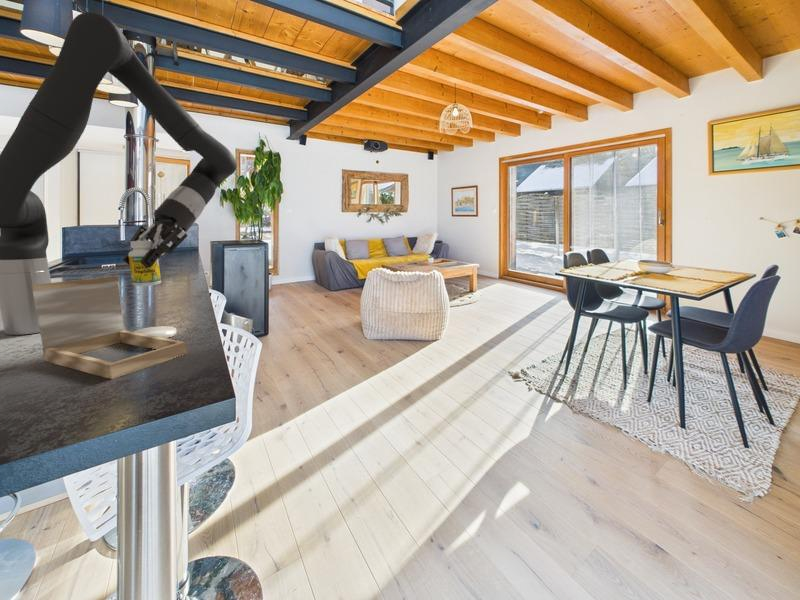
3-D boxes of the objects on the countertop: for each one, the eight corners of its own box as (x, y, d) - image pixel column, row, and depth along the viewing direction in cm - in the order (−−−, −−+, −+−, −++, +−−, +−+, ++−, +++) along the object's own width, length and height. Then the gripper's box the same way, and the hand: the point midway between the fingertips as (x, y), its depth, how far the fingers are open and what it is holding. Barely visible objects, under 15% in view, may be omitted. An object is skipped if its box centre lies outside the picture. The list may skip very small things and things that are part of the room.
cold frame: (44, 361, 70) (31, 285, 67) (123, 340, 83) (114, 276, 80) (112, 379, 62) (100, 295, 60) (187, 353, 75) (180, 283, 72)
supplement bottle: (161, 281, 87) (156, 240, 85) (161, 285, 82) (156, 241, 80) (133, 283, 84) (127, 240, 82) (131, 287, 79) (125, 241, 77)
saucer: (121, 339, 84) (120, 334, 83) (159, 329, 92) (159, 324, 91) (148, 344, 80) (147, 339, 80) (185, 333, 88) (185, 329, 88)
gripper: (148, 197, 88) (100, 251, 80) (191, 197, 83) (143, 254, 75) (172, 220, 94) (129, 272, 86) (213, 221, 89) (171, 277, 81)
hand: (136, 264), depth 80 cm, fingers closed on supplement bottle, 5 cm apart
